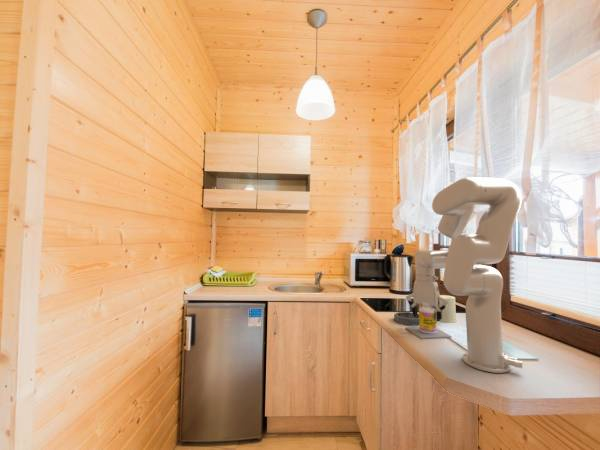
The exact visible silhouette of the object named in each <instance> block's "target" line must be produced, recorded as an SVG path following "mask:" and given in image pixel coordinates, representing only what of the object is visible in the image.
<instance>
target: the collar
mask: <svg viewBox="0 0 600 450" xmlns="http://www.w3.org/2000/svg"><path fill="white" fill-rule="evenodd" d="M393 317H394V319H393V320H394V321H395V322H396V323H397V324H399V325H405V326H408V327H419V313H418V316H416V317H414V314H413V312H412V311H411V312H410V311H400V312H399V311H397V312H395V313H394V315H393Z"/></svg>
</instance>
